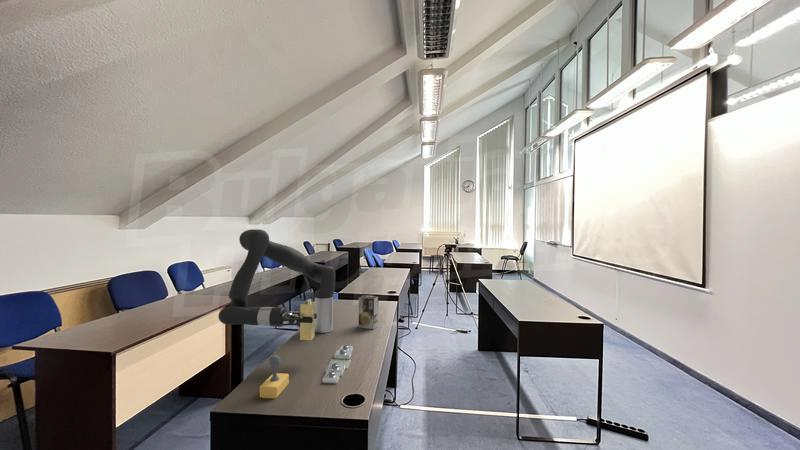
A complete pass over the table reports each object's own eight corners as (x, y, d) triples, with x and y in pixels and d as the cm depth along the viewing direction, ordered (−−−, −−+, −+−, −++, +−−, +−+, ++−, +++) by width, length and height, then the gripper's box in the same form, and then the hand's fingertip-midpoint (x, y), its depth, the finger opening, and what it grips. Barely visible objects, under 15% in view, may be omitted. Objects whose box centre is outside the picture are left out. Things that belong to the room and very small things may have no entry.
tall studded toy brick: (303, 335, 140) (304, 298, 140) (314, 336, 140) (315, 298, 139) (300, 339, 136) (300, 301, 135) (311, 340, 135) (311, 301, 135)
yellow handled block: (273, 383, 121) (273, 349, 121) (289, 384, 121) (289, 349, 120) (259, 397, 111) (259, 360, 111) (276, 398, 111) (277, 361, 111)
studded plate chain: (338, 348, 153) (338, 342, 153) (356, 349, 153) (356, 343, 153) (318, 382, 122) (318, 374, 122) (340, 383, 121) (341, 375, 121)
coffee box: (378, 326, 187) (379, 296, 186) (373, 329, 180) (374, 298, 180) (363, 324, 190) (363, 294, 189) (357, 327, 183) (358, 297, 183)
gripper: (264, 312, 131) (309, 313, 130) (279, 302, 145) (319, 304, 144) (264, 332, 131) (309, 333, 130) (279, 320, 145) (319, 321, 145)
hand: (314, 318), depth 137 cm, fingers closed on tall studded toy brick, 4 cm apart
